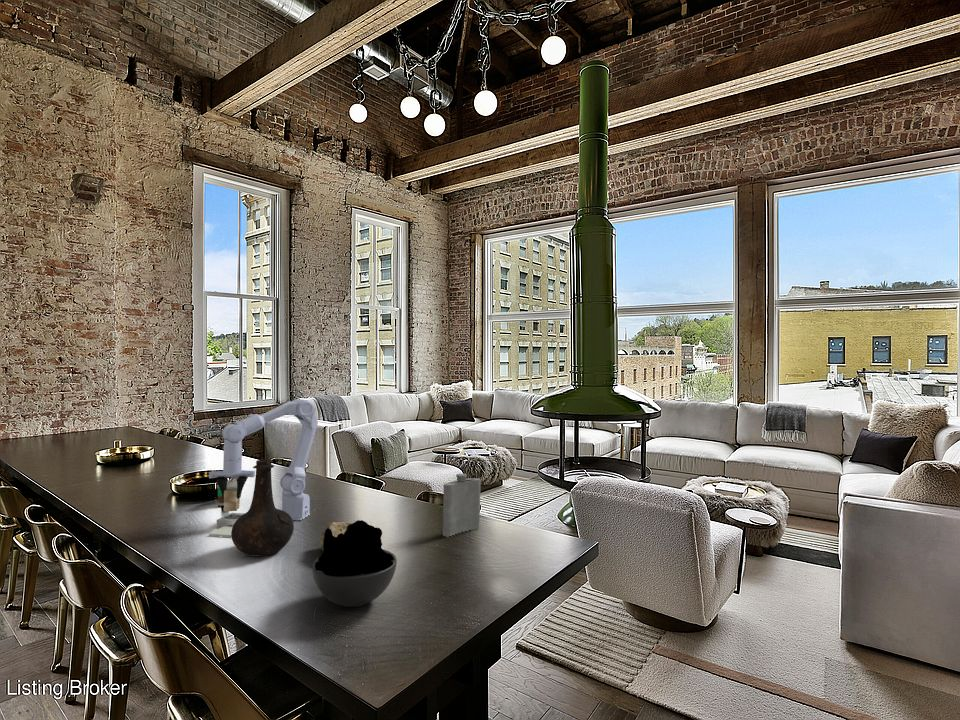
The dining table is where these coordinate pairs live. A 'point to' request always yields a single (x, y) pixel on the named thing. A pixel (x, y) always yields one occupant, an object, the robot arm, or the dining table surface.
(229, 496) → the maple peg
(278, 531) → the glass bottle
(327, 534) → the bowl of black rocks
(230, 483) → the food container
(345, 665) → the dining table surface
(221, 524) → the white flat frame
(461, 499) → the hip flask
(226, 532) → the ceramic tile
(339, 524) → the rock
